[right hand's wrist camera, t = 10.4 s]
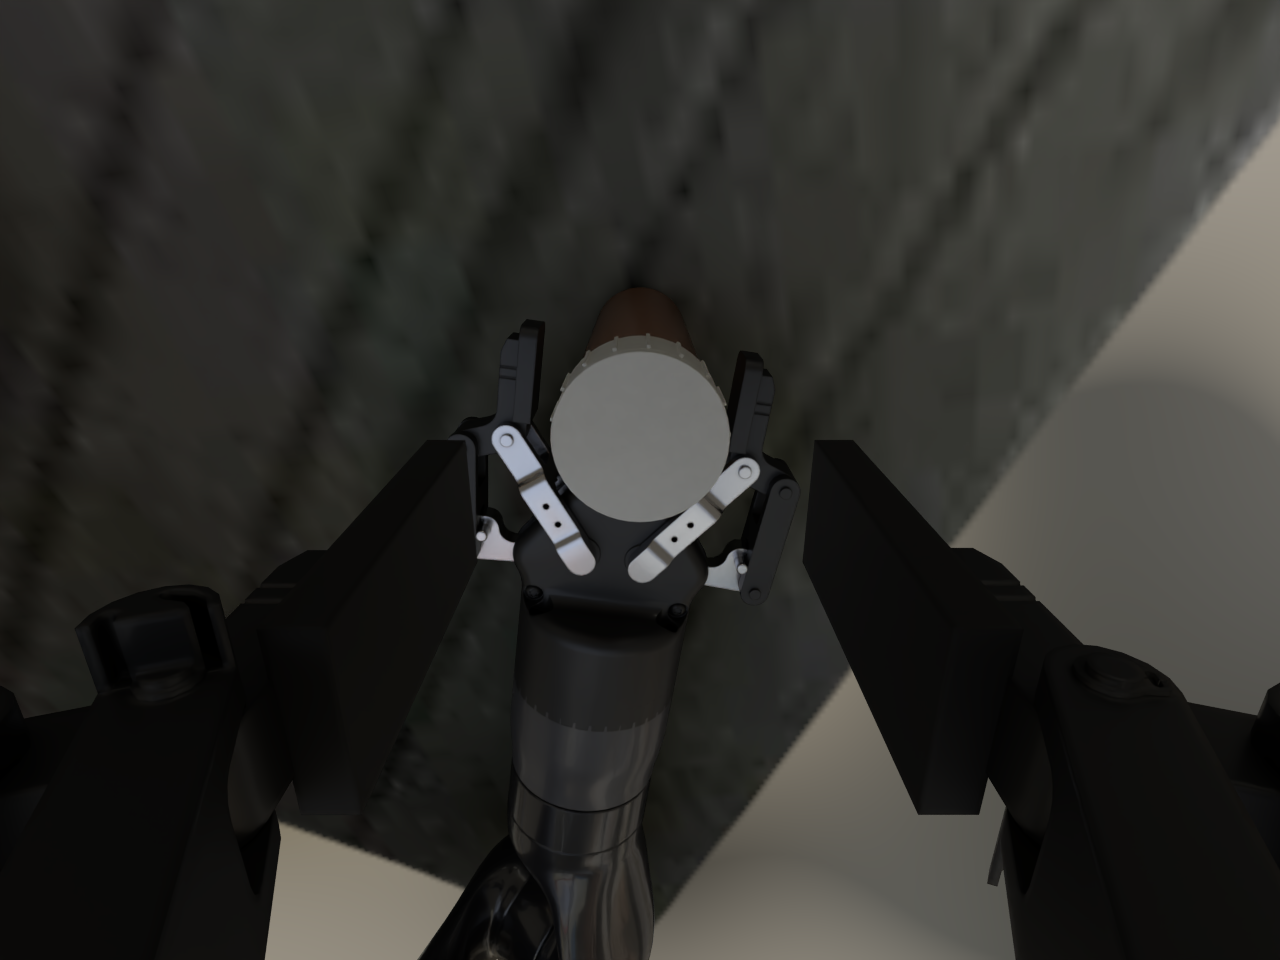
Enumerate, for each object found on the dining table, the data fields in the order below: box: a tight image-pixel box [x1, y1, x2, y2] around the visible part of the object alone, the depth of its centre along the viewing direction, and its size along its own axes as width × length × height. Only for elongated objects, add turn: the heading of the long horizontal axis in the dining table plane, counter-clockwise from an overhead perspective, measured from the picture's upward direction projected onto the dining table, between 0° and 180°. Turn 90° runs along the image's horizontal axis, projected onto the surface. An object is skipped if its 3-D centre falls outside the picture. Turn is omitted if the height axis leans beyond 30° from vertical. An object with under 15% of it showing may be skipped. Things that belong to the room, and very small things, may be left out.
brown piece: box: [582, 287, 698, 359], centre depth 25 cm, size 4×4×16 cm
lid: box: [550, 333, 731, 522], centre depth 19 cm, size 5×5×2 cm
